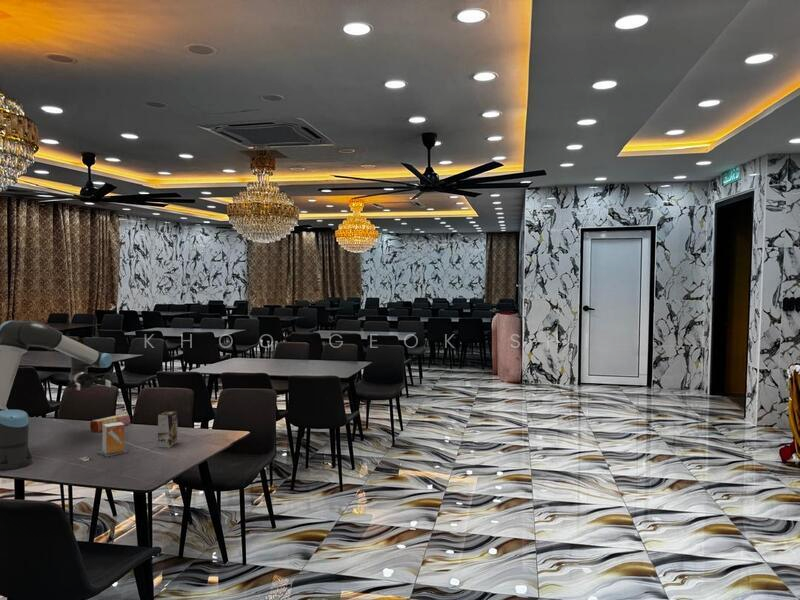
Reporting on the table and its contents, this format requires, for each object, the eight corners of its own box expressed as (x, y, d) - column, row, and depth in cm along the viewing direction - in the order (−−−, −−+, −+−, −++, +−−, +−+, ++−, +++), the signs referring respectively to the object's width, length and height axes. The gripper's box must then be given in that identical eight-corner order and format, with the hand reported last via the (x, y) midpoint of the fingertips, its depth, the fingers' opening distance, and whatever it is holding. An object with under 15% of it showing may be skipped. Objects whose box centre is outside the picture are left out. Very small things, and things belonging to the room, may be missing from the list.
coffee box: (170, 447, 276) (170, 415, 276) (157, 447, 276) (157, 414, 276) (177, 442, 285) (178, 411, 285) (165, 442, 285) (165, 410, 285)
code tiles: (84, 461, 253) (84, 460, 253) (78, 458, 257) (78, 458, 257) (92, 459, 256) (92, 459, 256) (86, 456, 260) (86, 456, 260)
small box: (106, 454, 261) (106, 426, 261) (102, 451, 266) (102, 424, 266) (124, 451, 267) (124, 424, 266) (120, 448, 271) (120, 421, 271)
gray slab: (107, 457, 259) (107, 456, 259) (97, 453, 265) (97, 451, 265) (128, 452, 267) (128, 451, 267) (118, 448, 273) (118, 447, 273)
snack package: (122, 423, 323) (122, 412, 323) (131, 425, 320) (131, 413, 320) (89, 432, 303) (89, 419, 303) (97, 433, 301) (98, 421, 300)
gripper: (110, 384, 299) (122, 390, 284) (56, 390, 282) (65, 396, 267) (110, 370, 299) (122, 375, 283) (56, 375, 282) (65, 380, 267)
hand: (94, 385), depth 275 cm, fingers open, 13 cm apart
